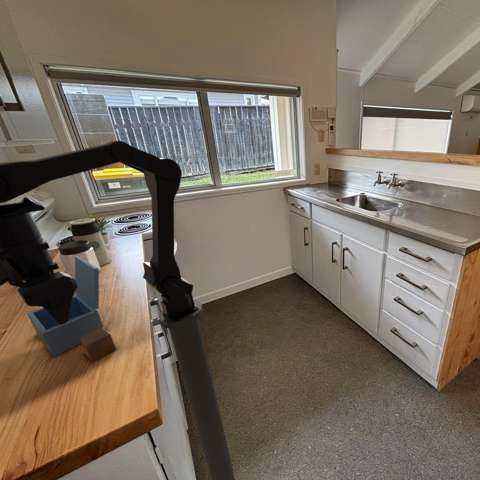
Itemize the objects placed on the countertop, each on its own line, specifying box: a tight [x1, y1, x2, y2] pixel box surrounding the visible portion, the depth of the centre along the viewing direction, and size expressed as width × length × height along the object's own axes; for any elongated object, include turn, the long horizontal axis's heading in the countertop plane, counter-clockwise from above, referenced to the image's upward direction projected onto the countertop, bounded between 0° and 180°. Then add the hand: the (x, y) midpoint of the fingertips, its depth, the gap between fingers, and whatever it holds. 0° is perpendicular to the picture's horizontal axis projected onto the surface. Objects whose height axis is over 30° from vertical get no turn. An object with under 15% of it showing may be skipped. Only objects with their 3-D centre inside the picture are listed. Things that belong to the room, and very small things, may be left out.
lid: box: [74, 257, 100, 310], centre depth 65 cm, size 10×14×1 cm
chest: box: [26, 294, 105, 357], centre depth 63 cm, size 10×14×6 cm
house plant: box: [89, 213, 116, 249], centre depth 115 cm, size 14×14×16 cm
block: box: [79, 326, 117, 363], centre depth 58 cm, size 4×4×4 cm
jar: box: [57, 240, 102, 279], centre depth 92 cm, size 9×8×12 cm
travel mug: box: [68, 217, 111, 267], centre depth 99 cm, size 8×8×18 cm
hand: (55, 315), depth 50 cm, fingers open, 9 cm apart
